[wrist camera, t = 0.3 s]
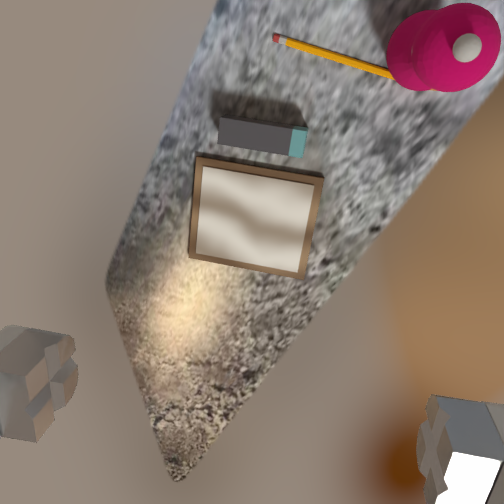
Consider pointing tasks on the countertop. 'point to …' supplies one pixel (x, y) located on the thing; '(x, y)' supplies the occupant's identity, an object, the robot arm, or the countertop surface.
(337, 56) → the pencil
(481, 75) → the pepper mill
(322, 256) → the countertop surface
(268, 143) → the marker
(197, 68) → the countertop surface
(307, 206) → the board
